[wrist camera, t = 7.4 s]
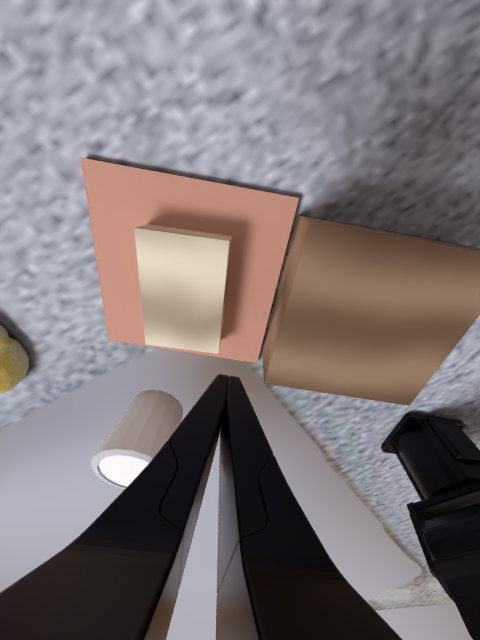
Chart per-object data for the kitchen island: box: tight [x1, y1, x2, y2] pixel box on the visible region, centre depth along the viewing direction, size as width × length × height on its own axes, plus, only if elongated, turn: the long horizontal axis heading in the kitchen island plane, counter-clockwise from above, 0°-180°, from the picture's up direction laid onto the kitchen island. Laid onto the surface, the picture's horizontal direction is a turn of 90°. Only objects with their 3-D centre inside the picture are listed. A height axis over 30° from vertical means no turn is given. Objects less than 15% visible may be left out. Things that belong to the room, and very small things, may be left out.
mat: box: [81, 158, 299, 363], centre depth 18 cm, size 14×14×1 cm
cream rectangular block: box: [134, 224, 232, 354], centre depth 17 cm, size 9×6×2 cm, turn 173°
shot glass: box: [91, 390, 183, 489], centre depth 23 cm, size 7×7×7 cm
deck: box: [262, 215, 480, 406], centre depth 17 cm, size 12×12×4 cm
